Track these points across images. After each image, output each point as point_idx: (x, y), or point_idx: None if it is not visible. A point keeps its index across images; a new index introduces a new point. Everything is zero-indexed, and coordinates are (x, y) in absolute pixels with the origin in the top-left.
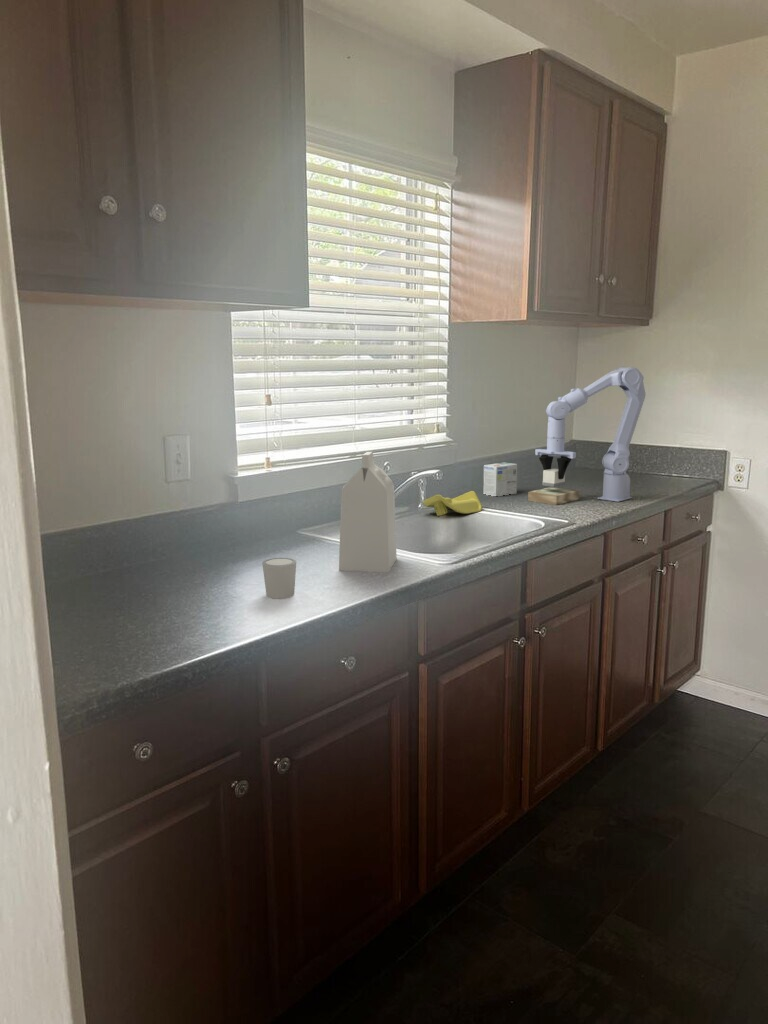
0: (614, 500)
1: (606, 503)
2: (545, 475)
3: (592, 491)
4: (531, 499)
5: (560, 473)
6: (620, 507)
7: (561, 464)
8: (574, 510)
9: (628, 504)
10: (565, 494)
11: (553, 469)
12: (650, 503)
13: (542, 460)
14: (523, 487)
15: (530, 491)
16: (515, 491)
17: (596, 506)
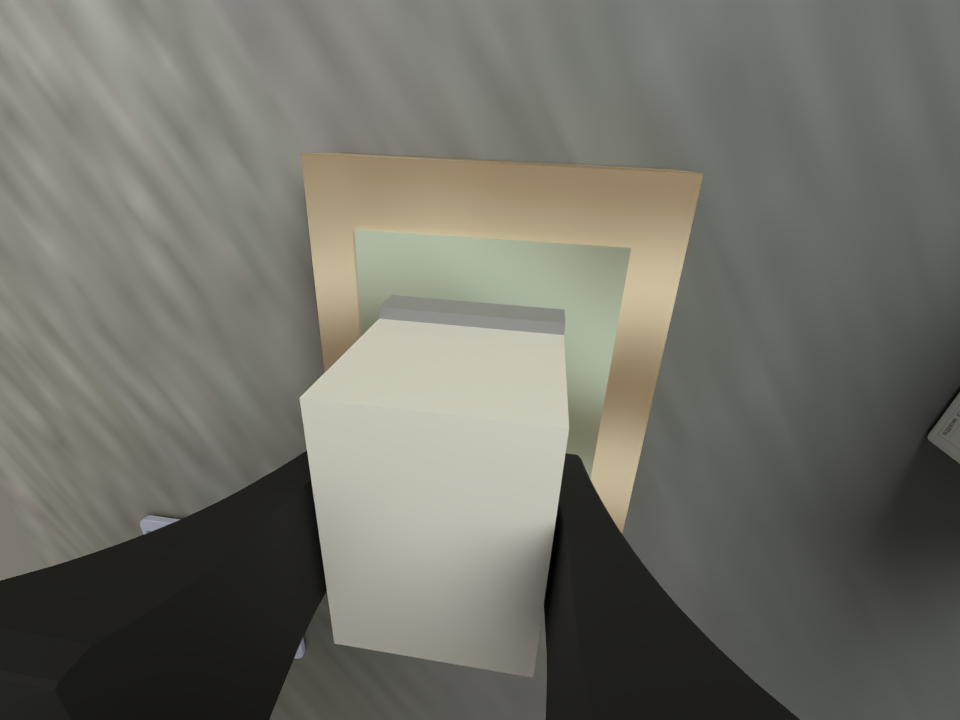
0: (165, 520)
1: (161, 446)
2: (516, 375)
3: (458, 716)
4: (634, 167)
5: (288, 463)
6: (16, 373)
7: (117, 552)
8: (68, 4)
9: (71, 484)
10: (323, 326)
11: (478, 598)
12: (42, 561)
13: (674, 684)
14: (942, 684)
15: (690, 222)
16: (952, 436)
17: (115, 310)
